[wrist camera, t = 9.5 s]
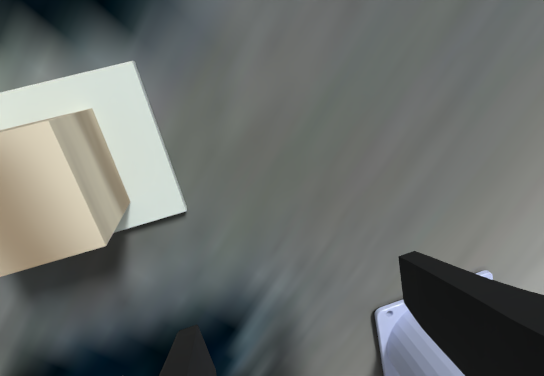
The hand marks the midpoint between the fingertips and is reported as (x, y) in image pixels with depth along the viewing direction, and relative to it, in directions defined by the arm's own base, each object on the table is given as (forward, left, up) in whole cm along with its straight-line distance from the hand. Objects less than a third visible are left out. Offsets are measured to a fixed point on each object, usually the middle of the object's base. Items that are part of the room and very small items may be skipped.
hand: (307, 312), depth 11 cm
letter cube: (+9, -5, -9) cm, 14 cm away
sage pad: (+9, -6, -9) cm, 14 cm away
